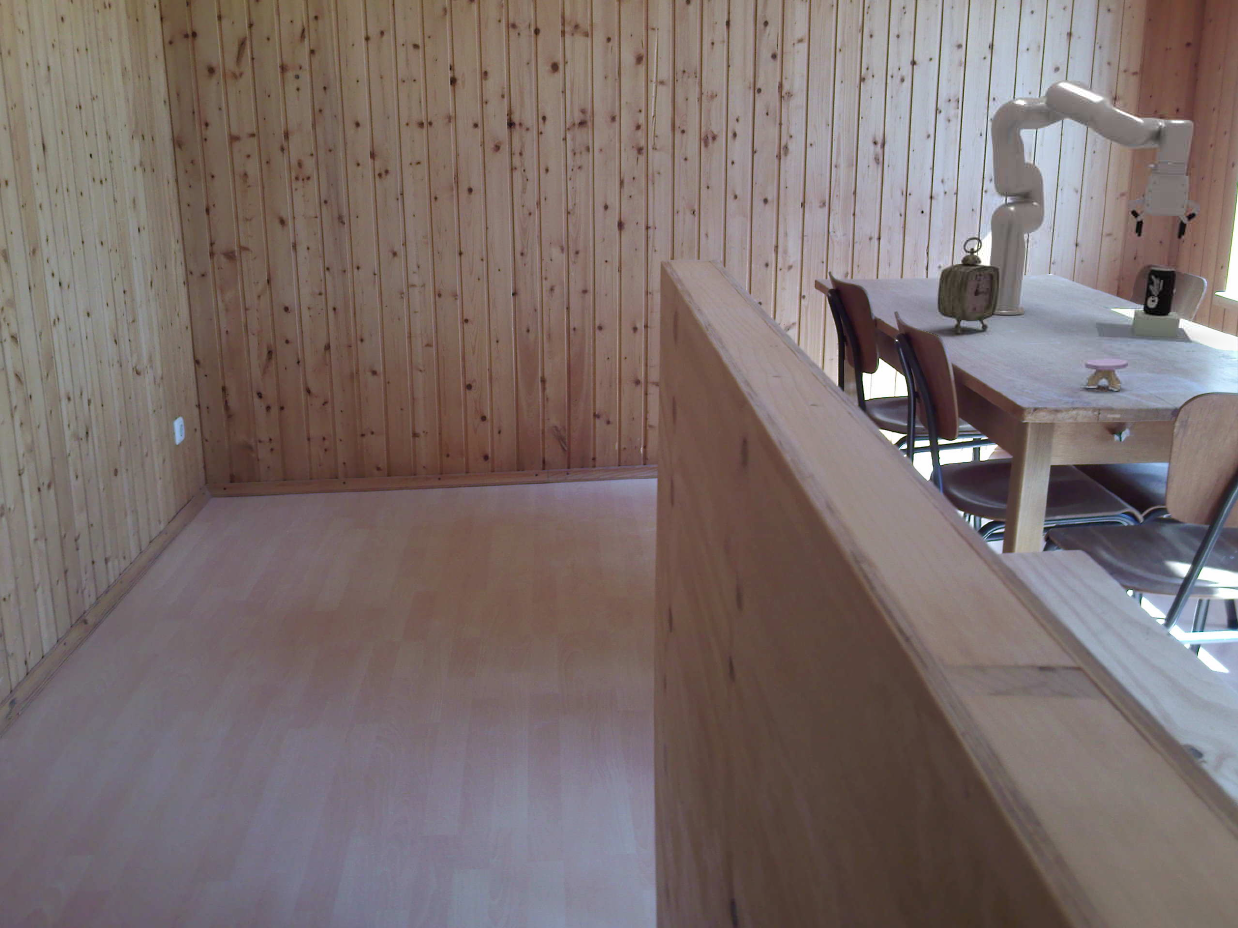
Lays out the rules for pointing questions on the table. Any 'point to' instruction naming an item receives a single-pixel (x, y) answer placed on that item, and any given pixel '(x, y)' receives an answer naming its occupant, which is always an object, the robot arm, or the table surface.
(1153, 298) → the beverage can
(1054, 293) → the table surface
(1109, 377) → the toy table
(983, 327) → the tabletop clock
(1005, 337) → the table surface
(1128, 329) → the board
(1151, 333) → the plinth
